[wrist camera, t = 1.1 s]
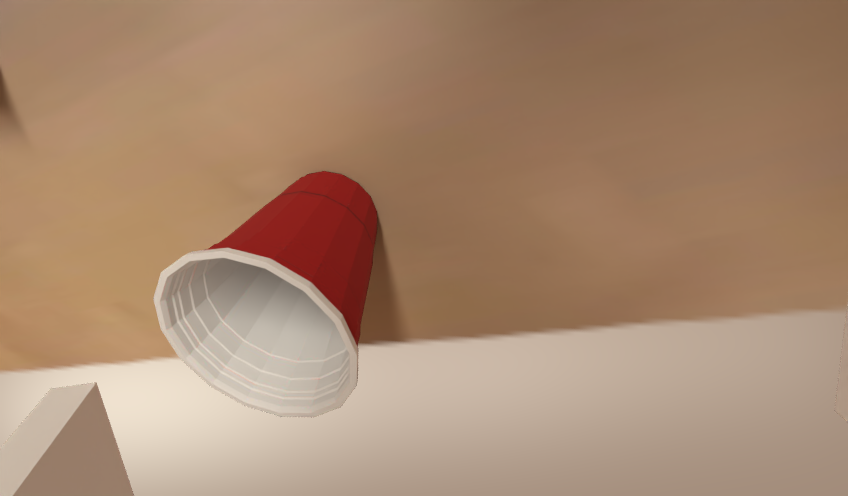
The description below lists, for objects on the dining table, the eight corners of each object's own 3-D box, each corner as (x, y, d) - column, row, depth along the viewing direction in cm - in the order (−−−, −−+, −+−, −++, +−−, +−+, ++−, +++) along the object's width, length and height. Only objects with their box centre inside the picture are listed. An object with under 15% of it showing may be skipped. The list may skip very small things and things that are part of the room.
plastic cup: (256, 104, 37) (142, 226, 28) (436, 168, 37) (381, 310, 28) (240, 243, 44) (144, 378, 35) (392, 297, 44) (336, 445, 35)
